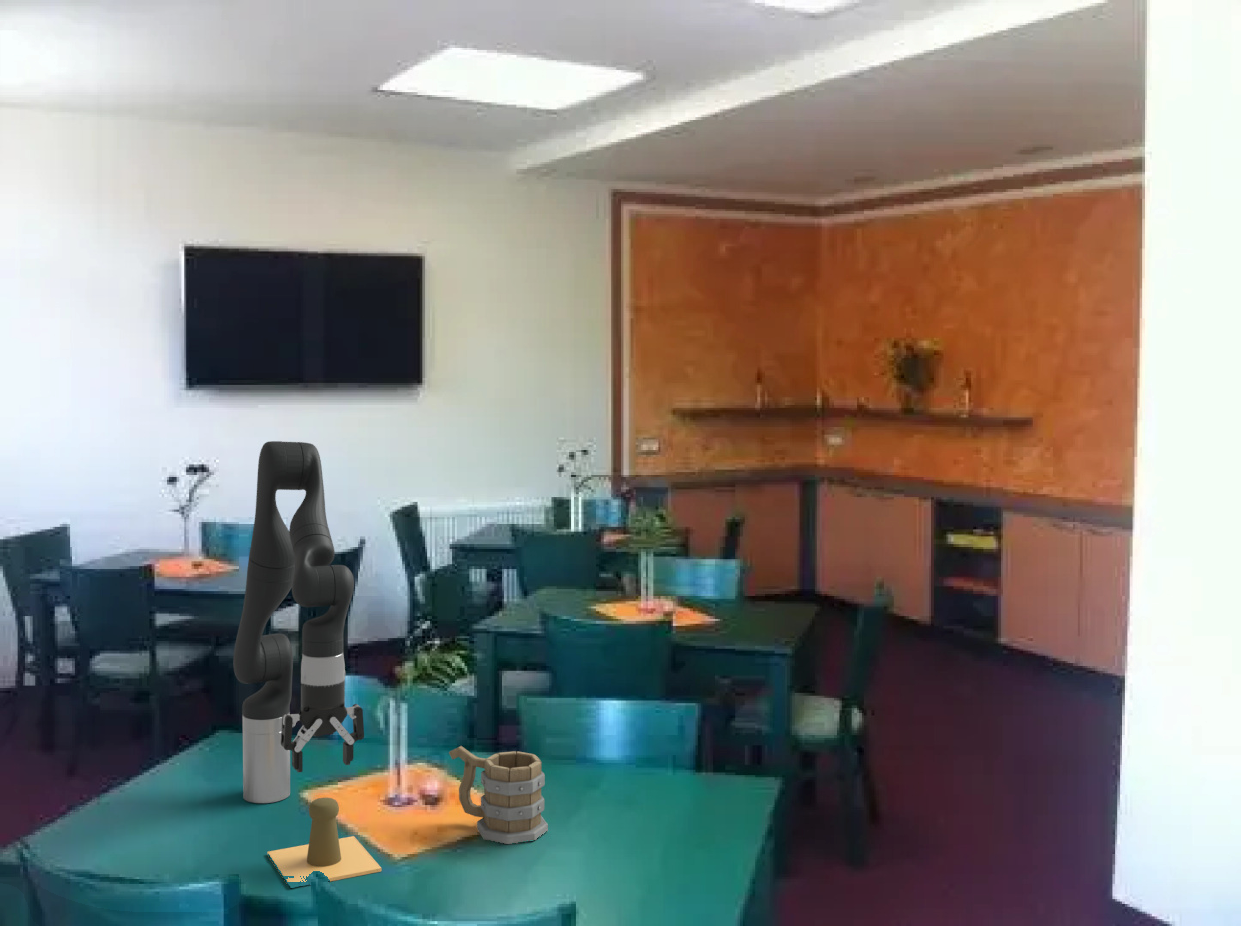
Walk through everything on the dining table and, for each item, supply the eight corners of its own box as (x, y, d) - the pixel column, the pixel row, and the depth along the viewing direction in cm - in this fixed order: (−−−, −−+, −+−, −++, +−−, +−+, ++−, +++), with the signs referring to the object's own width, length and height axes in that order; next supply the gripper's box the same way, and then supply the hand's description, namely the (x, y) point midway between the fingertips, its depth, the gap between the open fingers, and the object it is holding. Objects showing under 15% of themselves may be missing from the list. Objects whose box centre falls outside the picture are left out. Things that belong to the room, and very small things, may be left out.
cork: (332, 868, 219) (332, 807, 218) (300, 864, 221) (300, 804, 220) (347, 854, 225) (346, 795, 224) (315, 851, 227) (315, 792, 226)
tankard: (556, 825, 242) (558, 750, 241) (524, 849, 231) (525, 770, 230) (468, 807, 251) (469, 735, 249) (433, 829, 239) (434, 753, 238)
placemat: (267, 855, 226) (267, 851, 226) (353, 839, 234) (353, 836, 234) (290, 889, 212) (290, 886, 212) (381, 871, 220) (381, 868, 220)
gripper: (356, 668, 226) (355, 755, 228) (276, 677, 219) (277, 766, 221) (368, 678, 220) (368, 768, 222) (287, 688, 213) (287, 780, 215)
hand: (322, 767), depth 221 cm, fingers open, 8 cm apart
